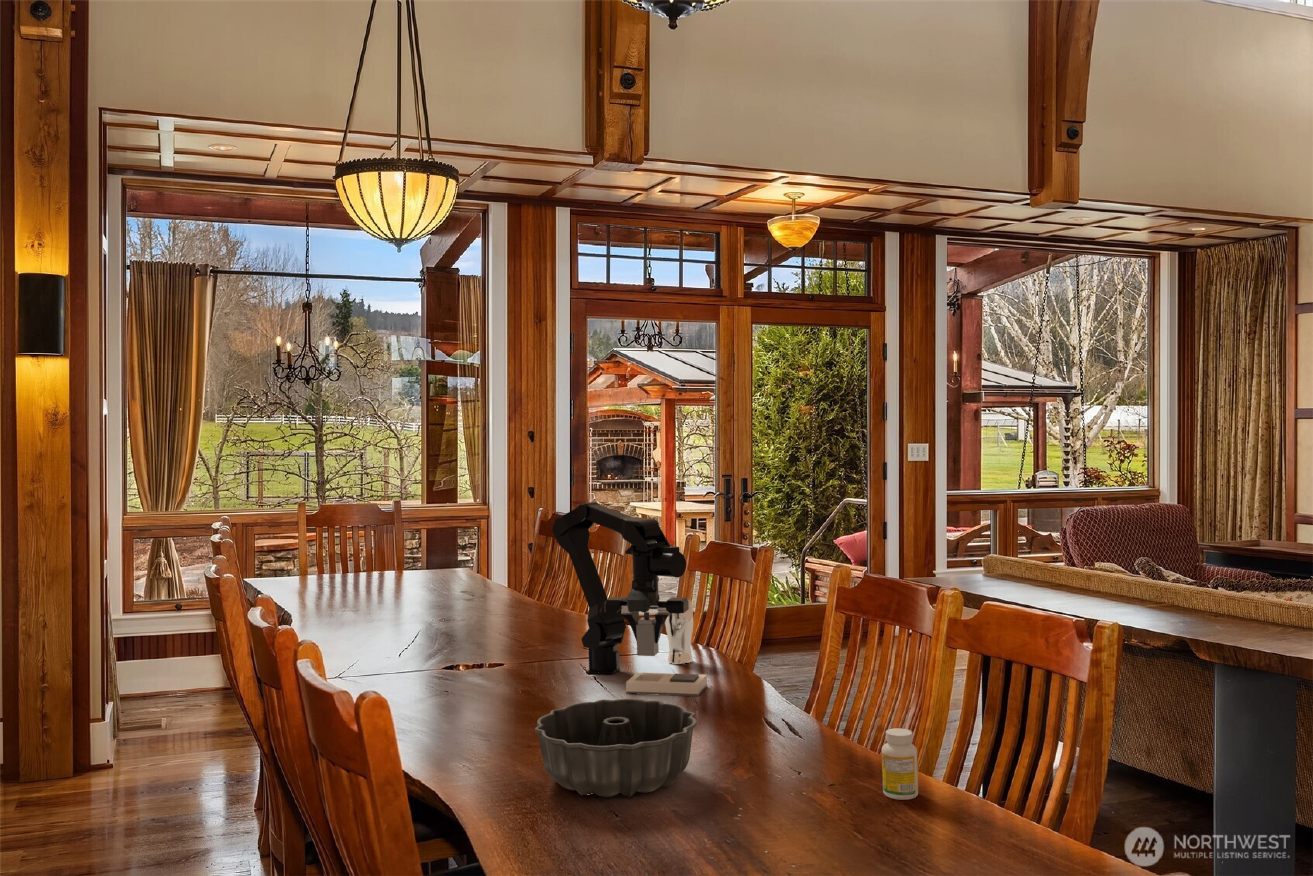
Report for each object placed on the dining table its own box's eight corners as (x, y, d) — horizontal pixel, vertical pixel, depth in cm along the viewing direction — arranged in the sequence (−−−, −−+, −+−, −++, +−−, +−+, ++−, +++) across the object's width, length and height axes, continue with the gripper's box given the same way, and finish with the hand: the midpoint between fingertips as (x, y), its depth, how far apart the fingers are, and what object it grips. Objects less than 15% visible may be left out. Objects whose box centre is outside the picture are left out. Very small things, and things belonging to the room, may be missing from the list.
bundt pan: (685, 813, 153) (683, 746, 153) (515, 807, 158) (513, 742, 158) (708, 757, 179) (706, 699, 179) (561, 753, 184) (560, 697, 184)
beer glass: (692, 665, 249) (690, 603, 249) (663, 665, 250) (661, 603, 250) (696, 659, 256) (694, 598, 256) (669, 658, 257) (667, 598, 257)
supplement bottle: (908, 803, 154) (906, 739, 154) (876, 796, 157) (874, 733, 157) (924, 793, 158) (922, 730, 158) (892, 786, 162) (891, 725, 162)
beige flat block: (626, 693, 224) (625, 680, 224) (637, 683, 233) (637, 670, 233) (698, 696, 220) (697, 682, 220) (707, 686, 228) (706, 672, 228)
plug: (637, 655, 234) (635, 614, 234) (641, 652, 238) (640, 610, 238) (654, 656, 233) (652, 614, 233) (658, 652, 237) (657, 611, 237)
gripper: (595, 579, 230) (597, 649, 230) (676, 579, 225) (679, 651, 225) (610, 572, 241) (612, 639, 241) (688, 572, 236) (690, 640, 236)
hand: (647, 642), depth 235 cm, fingers closed on plug, 4 cm apart
